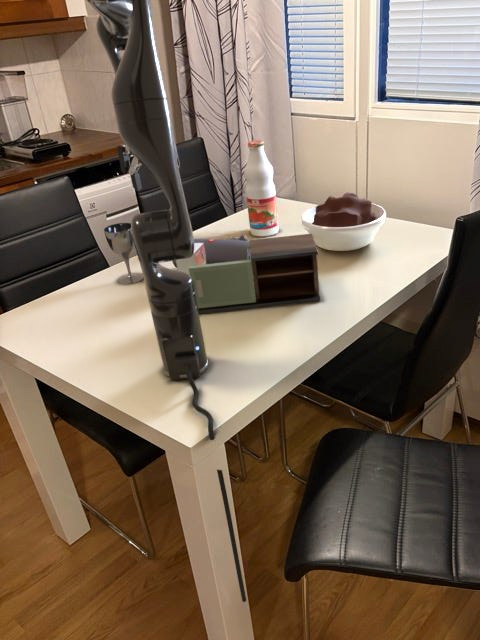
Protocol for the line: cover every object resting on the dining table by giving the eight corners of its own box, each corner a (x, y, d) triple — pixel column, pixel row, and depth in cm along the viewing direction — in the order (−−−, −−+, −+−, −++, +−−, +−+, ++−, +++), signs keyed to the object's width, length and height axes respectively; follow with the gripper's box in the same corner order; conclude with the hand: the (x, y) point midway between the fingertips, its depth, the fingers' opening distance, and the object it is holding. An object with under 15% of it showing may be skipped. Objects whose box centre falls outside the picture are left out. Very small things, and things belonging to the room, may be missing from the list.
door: (256, 303, 146) (251, 262, 140) (195, 309, 145) (188, 269, 140) (255, 299, 148) (251, 259, 142) (196, 306, 147) (188, 266, 141)
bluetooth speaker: (256, 233, 165) (244, 246, 157) (260, 265, 170) (248, 279, 162) (183, 231, 171) (167, 244, 163) (188, 262, 176) (173, 275, 168)
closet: (319, 296, 149) (316, 247, 142) (256, 303, 149) (250, 254, 142) (314, 280, 158) (311, 233, 150) (254, 287, 157) (249, 240, 150)
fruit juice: (284, 228, 195) (276, 138, 179) (270, 238, 188) (261, 145, 172) (259, 226, 199) (250, 138, 183) (245, 235, 192) (234, 145, 176)
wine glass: (111, 282, 167) (97, 231, 159) (129, 271, 173) (117, 221, 165) (132, 286, 164) (120, 233, 156) (150, 275, 170) (139, 224, 162)
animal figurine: (260, 239, 177) (250, 249, 175) (264, 250, 181) (254, 260, 179) (231, 229, 183) (221, 239, 181) (235, 240, 187) (225, 250, 185)
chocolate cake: (294, 260, 171) (290, 208, 163) (311, 230, 191) (309, 183, 183) (381, 261, 165) (381, 207, 157) (389, 230, 185) (390, 181, 177)
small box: (200, 291, 158) (194, 253, 152) (181, 290, 159) (173, 253, 153) (210, 278, 164) (204, 242, 158) (191, 278, 165) (184, 242, 160)
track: (320, 301, 147) (318, 251, 140) (192, 315, 146) (183, 265, 139) (319, 296, 149) (316, 247, 142) (193, 310, 148) (184, 261, 141)
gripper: (103, 120, 131) (120, 194, 139) (161, 118, 127) (175, 194, 136) (120, 114, 137) (135, 186, 145) (176, 112, 133) (188, 185, 142)
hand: (155, 190), depth 141 cm, fingers open, 8 cm apart
